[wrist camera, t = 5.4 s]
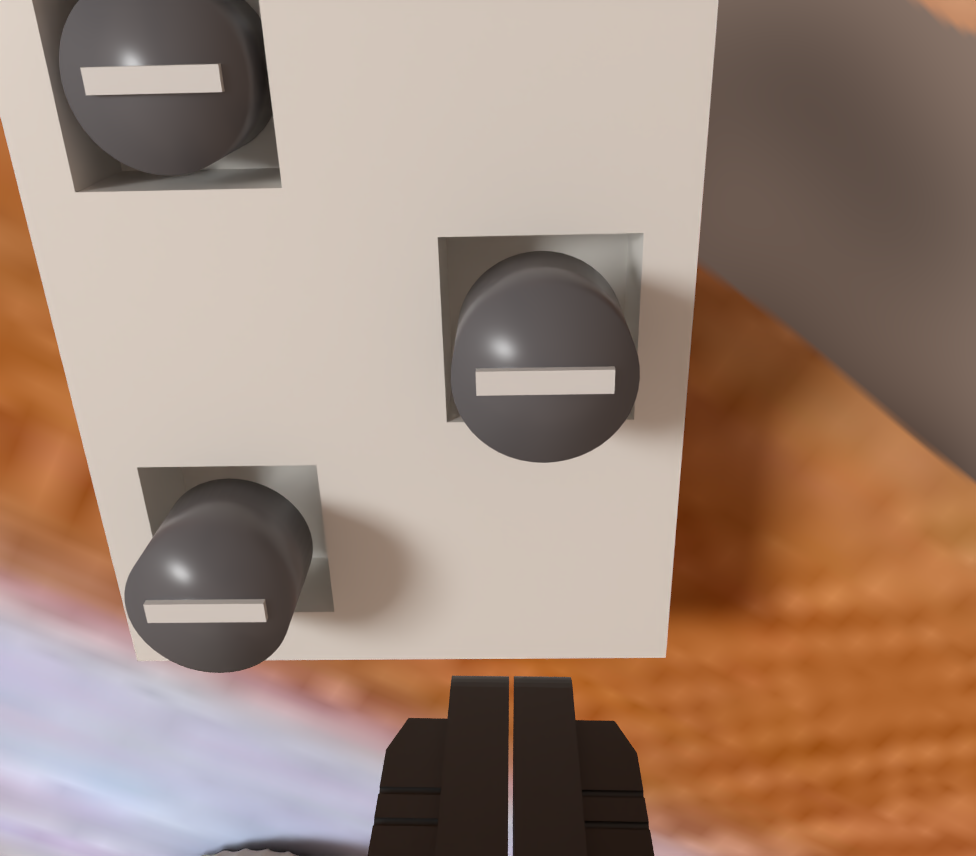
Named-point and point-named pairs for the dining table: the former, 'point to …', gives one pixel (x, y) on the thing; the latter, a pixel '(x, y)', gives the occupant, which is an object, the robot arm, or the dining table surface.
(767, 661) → the dining table surface
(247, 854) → the canister
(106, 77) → the knob
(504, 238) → the knob mount
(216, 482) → the knob
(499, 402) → the knob
